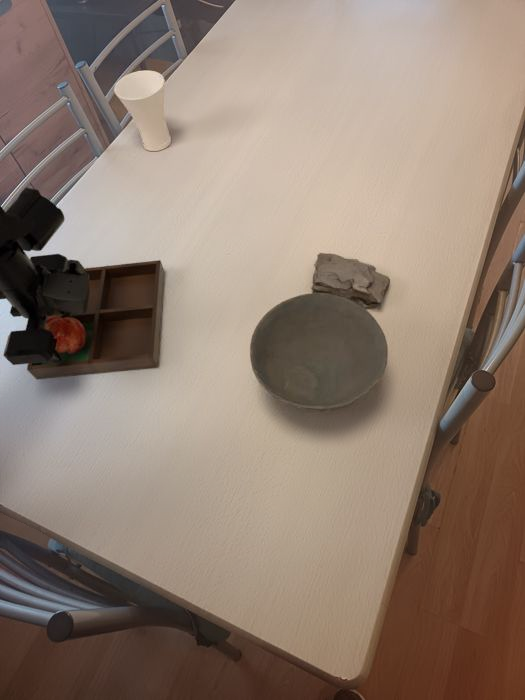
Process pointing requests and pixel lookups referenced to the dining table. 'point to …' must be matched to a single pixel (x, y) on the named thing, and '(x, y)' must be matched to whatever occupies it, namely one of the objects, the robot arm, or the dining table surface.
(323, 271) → the rock
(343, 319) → the bowl
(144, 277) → the four compartment tray
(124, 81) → the cup
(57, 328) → the red round fruit
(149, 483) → the dining table surface
